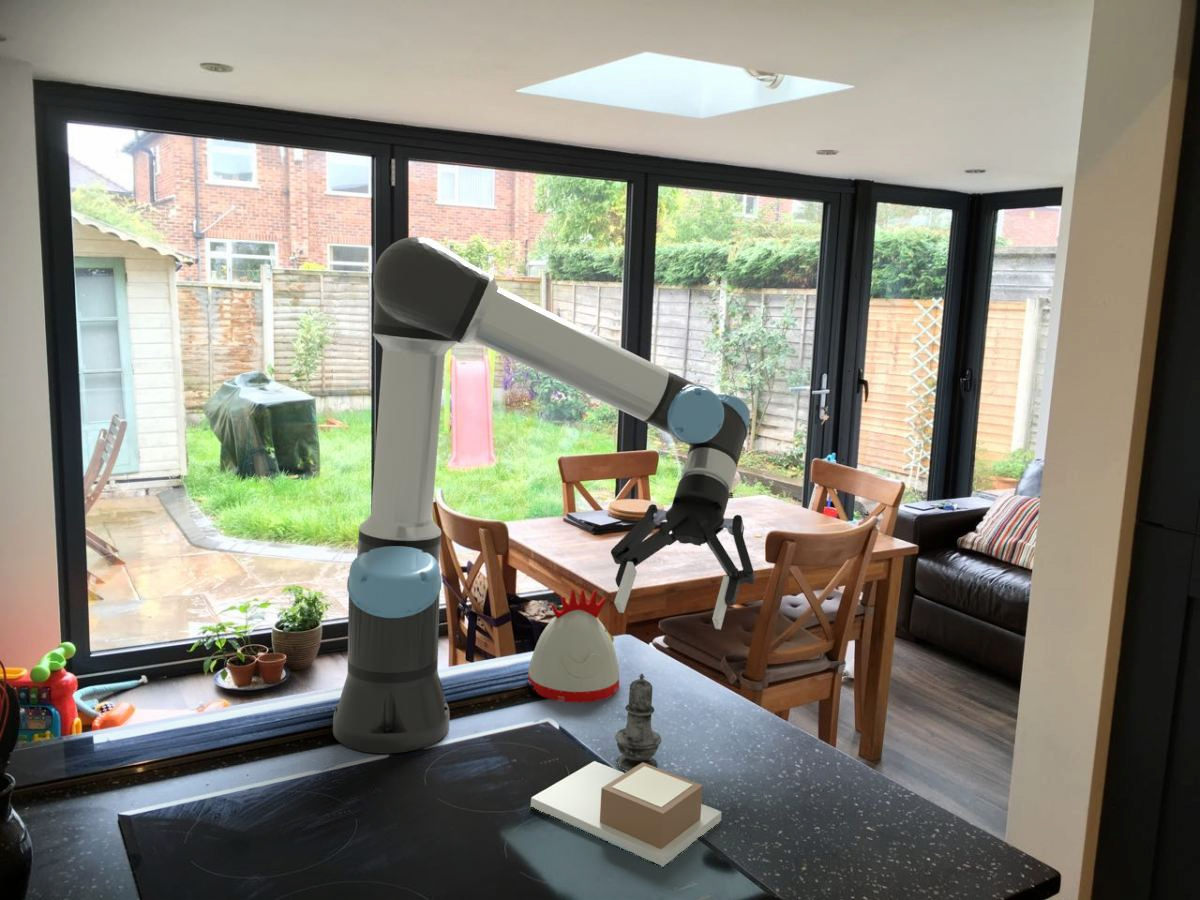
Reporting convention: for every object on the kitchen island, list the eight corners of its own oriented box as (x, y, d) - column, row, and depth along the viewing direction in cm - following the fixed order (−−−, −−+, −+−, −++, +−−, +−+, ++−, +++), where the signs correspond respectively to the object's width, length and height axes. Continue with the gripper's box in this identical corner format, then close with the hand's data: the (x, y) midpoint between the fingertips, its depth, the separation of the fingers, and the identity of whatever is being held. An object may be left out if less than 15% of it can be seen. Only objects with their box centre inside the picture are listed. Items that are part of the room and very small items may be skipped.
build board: (530, 807, 109) (532, 763, 108) (593, 770, 118) (596, 729, 117) (663, 867, 98) (666, 820, 97) (720, 821, 108) (724, 777, 107)
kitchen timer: (627, 701, 140) (632, 603, 138) (534, 704, 137) (538, 603, 135) (608, 666, 153) (613, 576, 151) (523, 668, 151) (527, 576, 148)
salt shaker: (656, 778, 117) (662, 685, 115) (609, 771, 118) (614, 679, 116) (662, 756, 123) (668, 668, 121) (617, 750, 124) (622, 662, 122)
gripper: (792, 512, 136) (762, 644, 124) (629, 492, 145) (587, 614, 133) (788, 481, 130) (756, 617, 119) (618, 462, 139) (573, 587, 128)
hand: (666, 616), depth 126 cm, fingers open, 13 cm apart
